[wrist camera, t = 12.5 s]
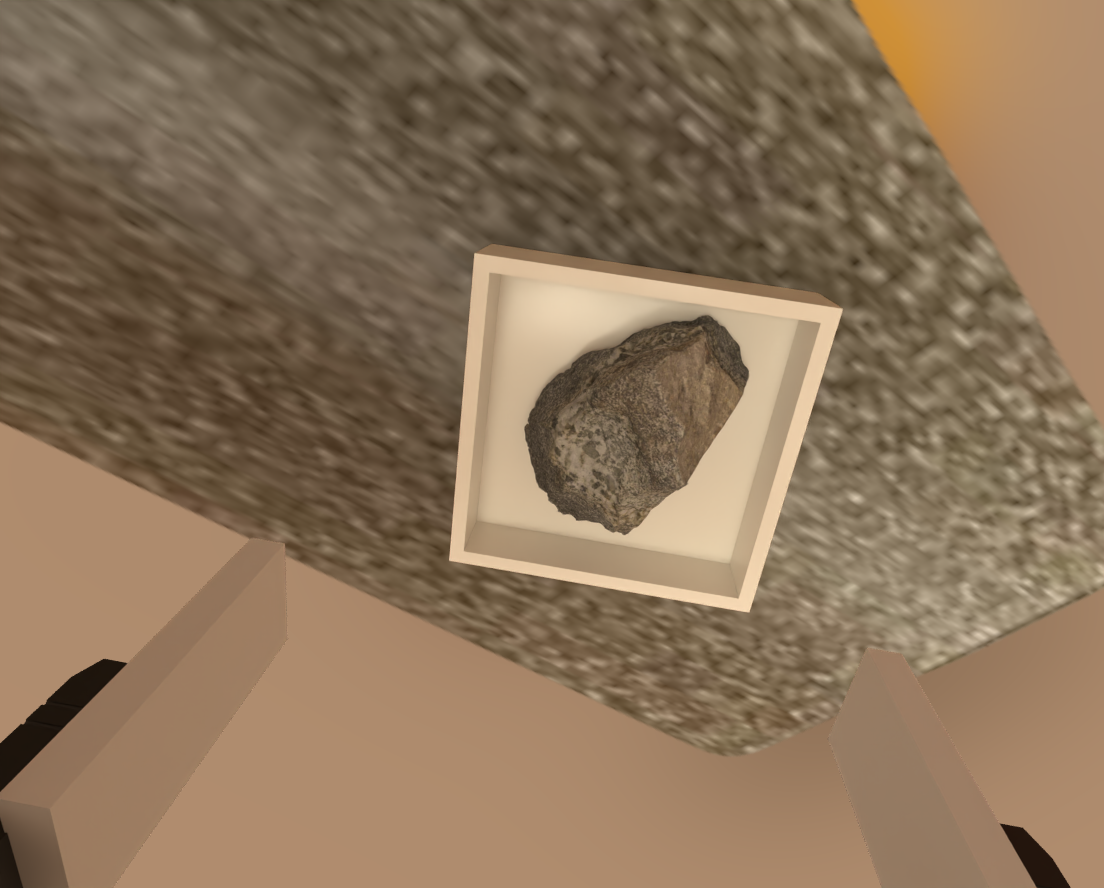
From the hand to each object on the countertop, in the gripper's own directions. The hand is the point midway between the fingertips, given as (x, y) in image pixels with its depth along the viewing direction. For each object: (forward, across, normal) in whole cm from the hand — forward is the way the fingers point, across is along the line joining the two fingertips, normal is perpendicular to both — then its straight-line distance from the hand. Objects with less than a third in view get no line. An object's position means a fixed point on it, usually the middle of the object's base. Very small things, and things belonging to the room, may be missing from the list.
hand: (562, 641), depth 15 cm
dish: (+24, +2, -4) cm, 25 cm away
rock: (+24, +2, -2) cm, 24 cm away
